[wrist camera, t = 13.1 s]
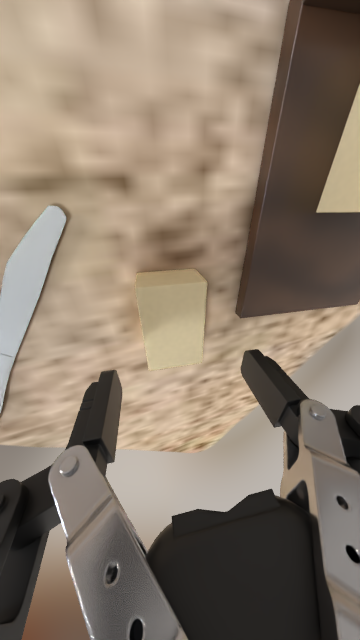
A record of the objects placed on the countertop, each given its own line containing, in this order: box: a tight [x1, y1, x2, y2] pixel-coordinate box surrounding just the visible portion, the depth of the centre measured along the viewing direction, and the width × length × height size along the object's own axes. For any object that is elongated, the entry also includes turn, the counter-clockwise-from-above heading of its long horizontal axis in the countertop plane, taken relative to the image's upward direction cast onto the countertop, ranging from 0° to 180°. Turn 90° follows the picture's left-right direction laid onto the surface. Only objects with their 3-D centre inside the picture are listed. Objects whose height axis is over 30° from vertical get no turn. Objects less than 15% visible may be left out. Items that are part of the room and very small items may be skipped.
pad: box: [135, 269, 207, 371], centre depth 15 cm, size 8×5×4 cm, turn 1°
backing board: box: [236, 0, 360, 318], centre depth 13 cm, size 18×14×3 cm
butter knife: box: [0, 206, 67, 413], centre depth 15 cm, size 1×27×3 cm
